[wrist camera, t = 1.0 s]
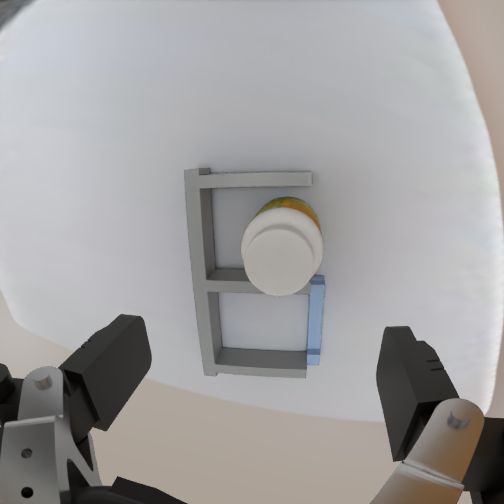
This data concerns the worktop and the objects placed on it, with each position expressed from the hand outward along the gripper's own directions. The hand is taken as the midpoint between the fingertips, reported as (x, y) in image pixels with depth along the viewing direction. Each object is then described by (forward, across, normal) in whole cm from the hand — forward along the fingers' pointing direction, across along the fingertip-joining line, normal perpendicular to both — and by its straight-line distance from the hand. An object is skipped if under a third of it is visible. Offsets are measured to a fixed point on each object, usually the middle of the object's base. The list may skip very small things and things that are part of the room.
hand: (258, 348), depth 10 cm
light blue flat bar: (+18, -3, +9) cm, 20 cm away
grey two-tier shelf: (+18, +3, +4) cm, 19 cm away
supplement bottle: (+18, 0, 0) cm, 18 cm away
